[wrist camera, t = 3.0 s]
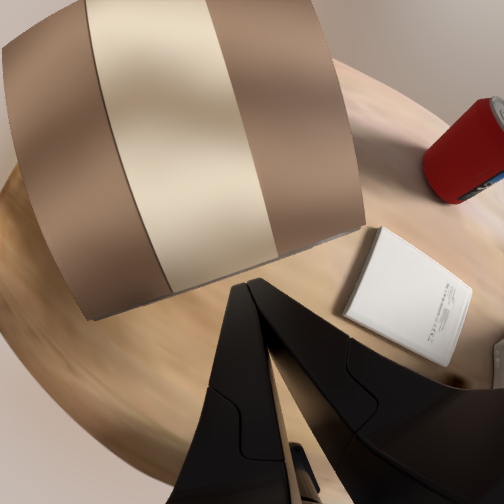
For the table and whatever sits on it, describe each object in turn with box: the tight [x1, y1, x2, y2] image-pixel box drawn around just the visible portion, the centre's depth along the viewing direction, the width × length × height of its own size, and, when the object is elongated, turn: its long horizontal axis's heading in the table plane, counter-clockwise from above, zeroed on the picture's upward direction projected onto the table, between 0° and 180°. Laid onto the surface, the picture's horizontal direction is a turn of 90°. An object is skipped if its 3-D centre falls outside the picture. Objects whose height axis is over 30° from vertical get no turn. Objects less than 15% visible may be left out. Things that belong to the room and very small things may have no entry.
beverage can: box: [423, 96, 504, 204], centre depth 18 cm, size 7×7×12 cm
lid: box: [2, 0, 366, 321], centre depth 10 cm, size 15×14×1 cm
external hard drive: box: [342, 226, 472, 367], centre depth 21 cm, size 2×8×12 cm
